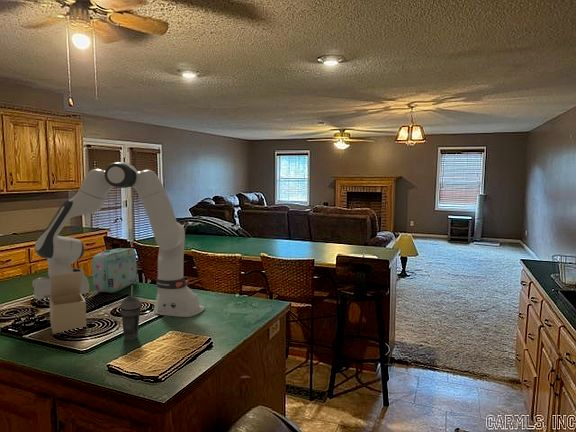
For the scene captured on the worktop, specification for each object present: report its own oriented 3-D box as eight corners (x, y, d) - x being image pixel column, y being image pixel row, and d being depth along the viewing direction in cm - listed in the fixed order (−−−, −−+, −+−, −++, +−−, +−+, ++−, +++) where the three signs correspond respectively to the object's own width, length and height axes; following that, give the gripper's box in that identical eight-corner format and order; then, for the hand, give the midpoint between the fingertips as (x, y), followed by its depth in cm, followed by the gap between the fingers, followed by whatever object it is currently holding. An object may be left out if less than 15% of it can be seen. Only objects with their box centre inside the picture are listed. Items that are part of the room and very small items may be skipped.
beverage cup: (134, 332, 152) (134, 280, 150) (145, 337, 147) (145, 284, 145) (116, 337, 146) (115, 284, 144) (126, 343, 142) (126, 288, 140)
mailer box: (50, 324, 157) (49, 297, 156) (81, 319, 163) (80, 293, 162) (53, 334, 147) (52, 305, 146) (86, 329, 154) (85, 301, 152)
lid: (49, 310, 162) (49, 308, 162) (78, 306, 168) (78, 304, 168) (51, 275, 149) (51, 274, 149) (82, 272, 155) (82, 270, 155)
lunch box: (108, 296, 195) (107, 253, 193) (89, 294, 197) (89, 252, 195) (139, 282, 221) (139, 244, 219) (122, 281, 223) (122, 243, 221)
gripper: (32, 274, 163) (34, 304, 156) (87, 269, 175) (91, 297, 168) (31, 282, 167) (33, 312, 160) (85, 277, 179) (89, 304, 172)
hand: (63, 304), depth 164 cm, fingers closed, pressing on lid
